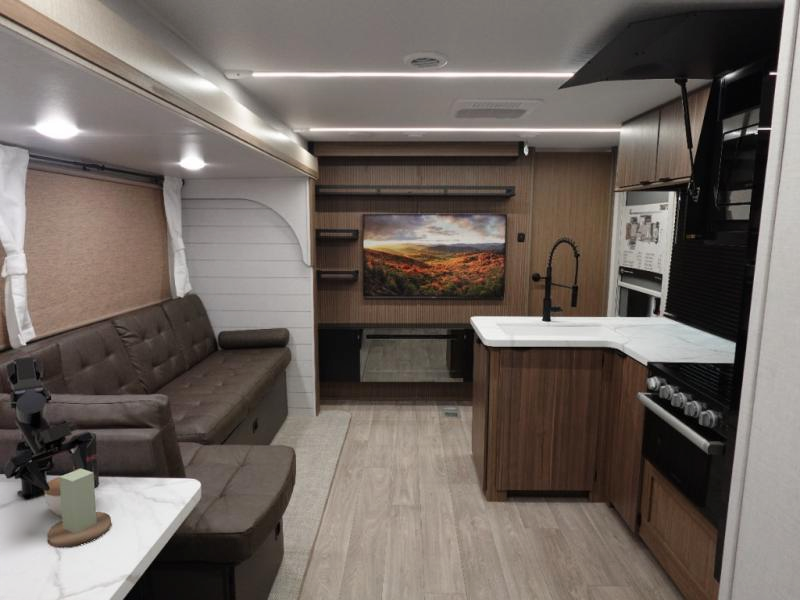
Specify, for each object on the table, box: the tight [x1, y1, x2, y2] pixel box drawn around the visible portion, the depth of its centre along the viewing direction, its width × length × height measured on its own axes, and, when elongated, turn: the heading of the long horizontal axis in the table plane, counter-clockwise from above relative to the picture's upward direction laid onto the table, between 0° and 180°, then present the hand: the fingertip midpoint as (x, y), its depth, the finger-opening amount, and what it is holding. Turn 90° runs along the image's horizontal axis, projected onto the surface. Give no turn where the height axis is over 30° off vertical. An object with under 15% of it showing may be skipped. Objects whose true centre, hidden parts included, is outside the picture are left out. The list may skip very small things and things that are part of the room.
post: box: [58, 469, 97, 534], centre depth 121 cm, size 5×5×13 cm
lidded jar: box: [44, 476, 62, 517], centre depth 131 cm, size 11×11×9 cm
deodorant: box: [70, 432, 100, 489], centre depth 143 cm, size 6×6×15 cm
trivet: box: [46, 511, 112, 549], centre depth 121 cm, size 13×13×2 cm
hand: (68, 481), depth 122 cm, fingers open, 9 cm apart
